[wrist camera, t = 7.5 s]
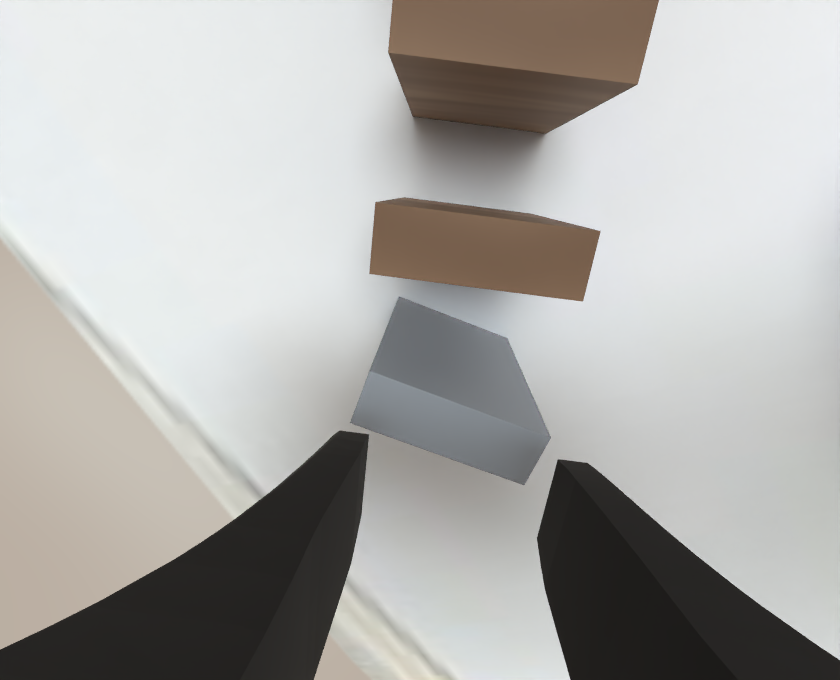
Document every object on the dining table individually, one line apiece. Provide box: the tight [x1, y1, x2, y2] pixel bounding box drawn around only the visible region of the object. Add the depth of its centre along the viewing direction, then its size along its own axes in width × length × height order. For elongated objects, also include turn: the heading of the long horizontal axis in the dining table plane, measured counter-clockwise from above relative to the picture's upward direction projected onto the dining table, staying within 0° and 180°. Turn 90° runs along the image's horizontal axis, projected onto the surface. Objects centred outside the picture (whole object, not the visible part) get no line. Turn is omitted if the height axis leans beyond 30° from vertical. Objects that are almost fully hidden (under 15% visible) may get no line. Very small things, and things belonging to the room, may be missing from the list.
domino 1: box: [388, 0, 659, 133], centre depth 12 cm, size 2×5×8 cm, turn 83°
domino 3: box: [350, 297, 551, 485], centre depth 15 cm, size 2×5×8 cm, turn 69°
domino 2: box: [370, 197, 600, 301], centre depth 14 cm, size 2×5×8 cm, turn 83°
